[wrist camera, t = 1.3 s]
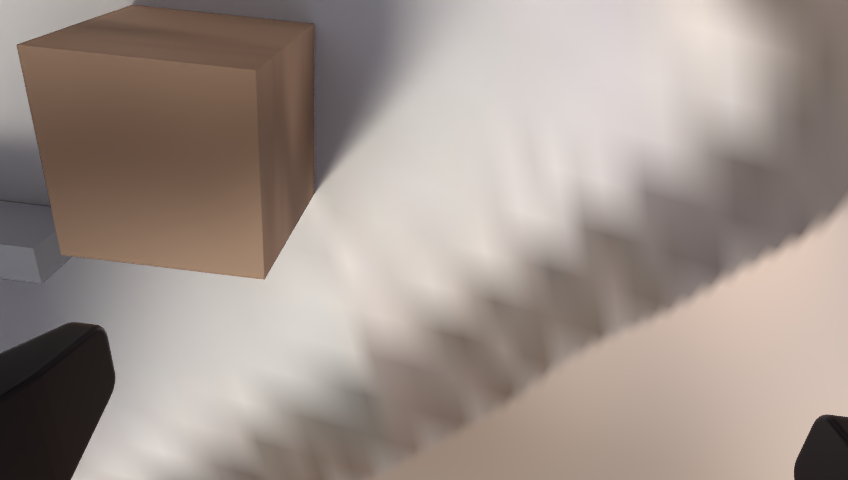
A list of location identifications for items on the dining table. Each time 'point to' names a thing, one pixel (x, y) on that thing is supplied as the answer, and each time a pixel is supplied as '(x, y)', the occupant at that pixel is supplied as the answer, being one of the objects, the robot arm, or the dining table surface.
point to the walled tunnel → (28, 243)
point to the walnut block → (175, 136)
